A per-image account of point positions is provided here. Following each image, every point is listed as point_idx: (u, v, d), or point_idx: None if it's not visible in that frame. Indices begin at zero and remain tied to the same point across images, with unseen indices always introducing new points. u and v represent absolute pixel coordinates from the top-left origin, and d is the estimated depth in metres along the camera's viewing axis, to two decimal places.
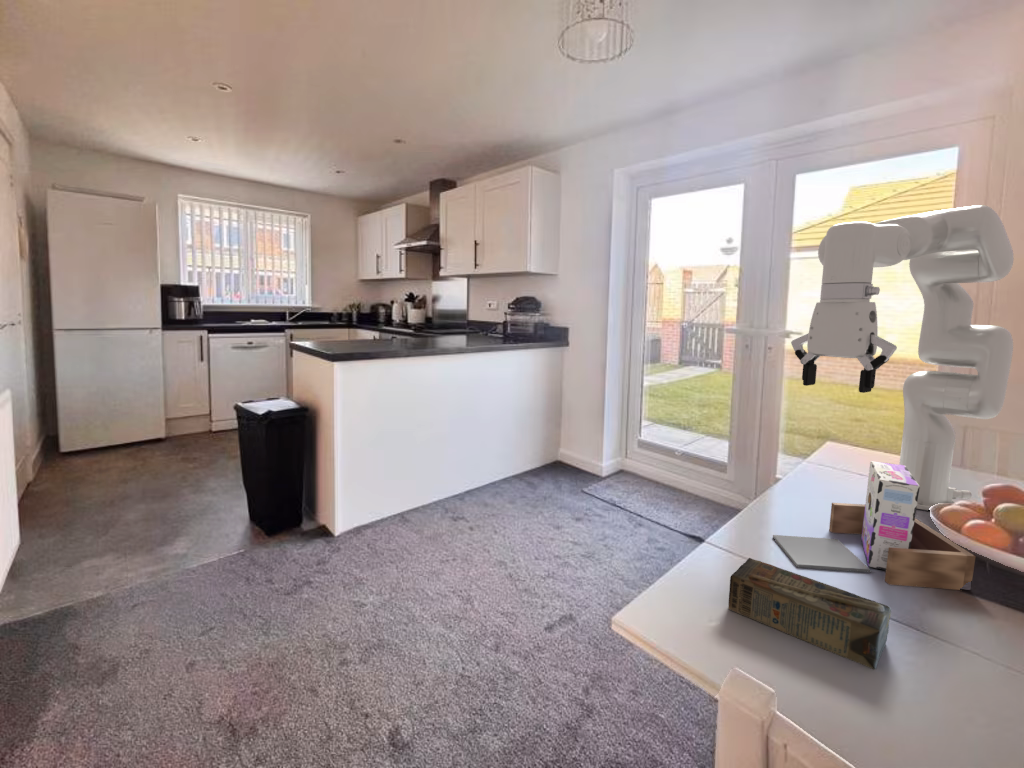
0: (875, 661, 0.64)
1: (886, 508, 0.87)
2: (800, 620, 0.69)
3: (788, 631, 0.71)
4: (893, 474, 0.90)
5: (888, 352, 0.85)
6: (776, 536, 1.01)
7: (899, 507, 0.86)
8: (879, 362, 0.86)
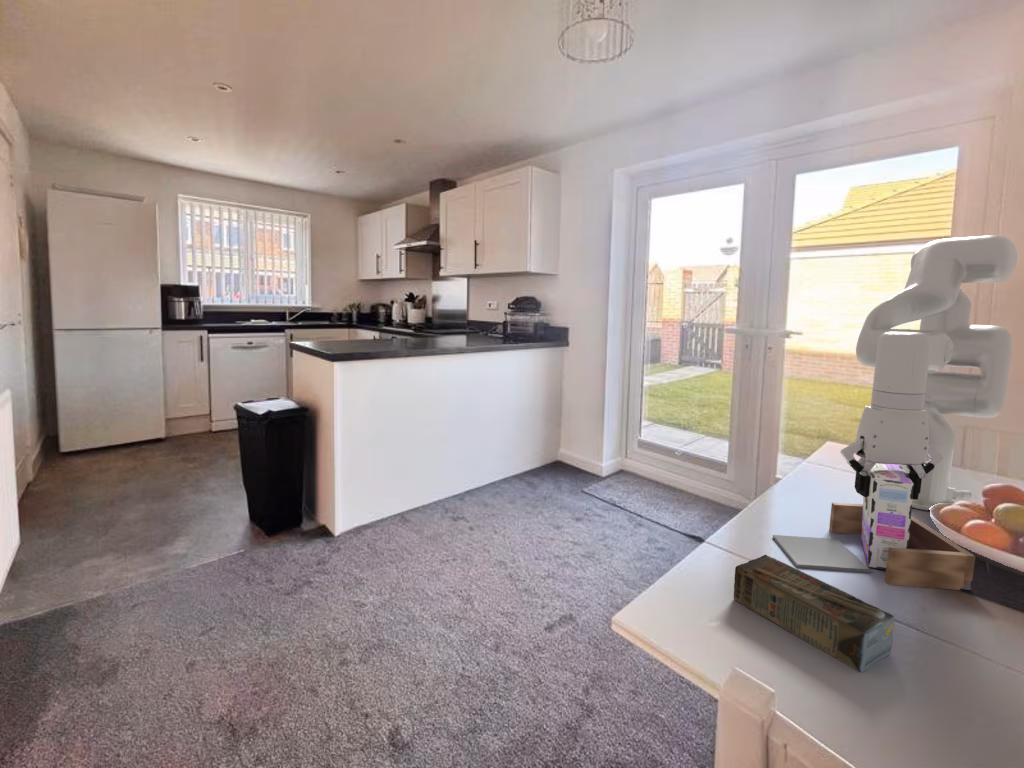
0: (860, 664, 0.64)
1: (882, 507, 0.88)
2: (793, 615, 0.71)
3: (783, 625, 0.72)
4: (887, 473, 0.90)
5: (937, 461, 0.90)
6: (776, 536, 1.01)
7: (895, 505, 0.87)
8: (929, 470, 0.90)
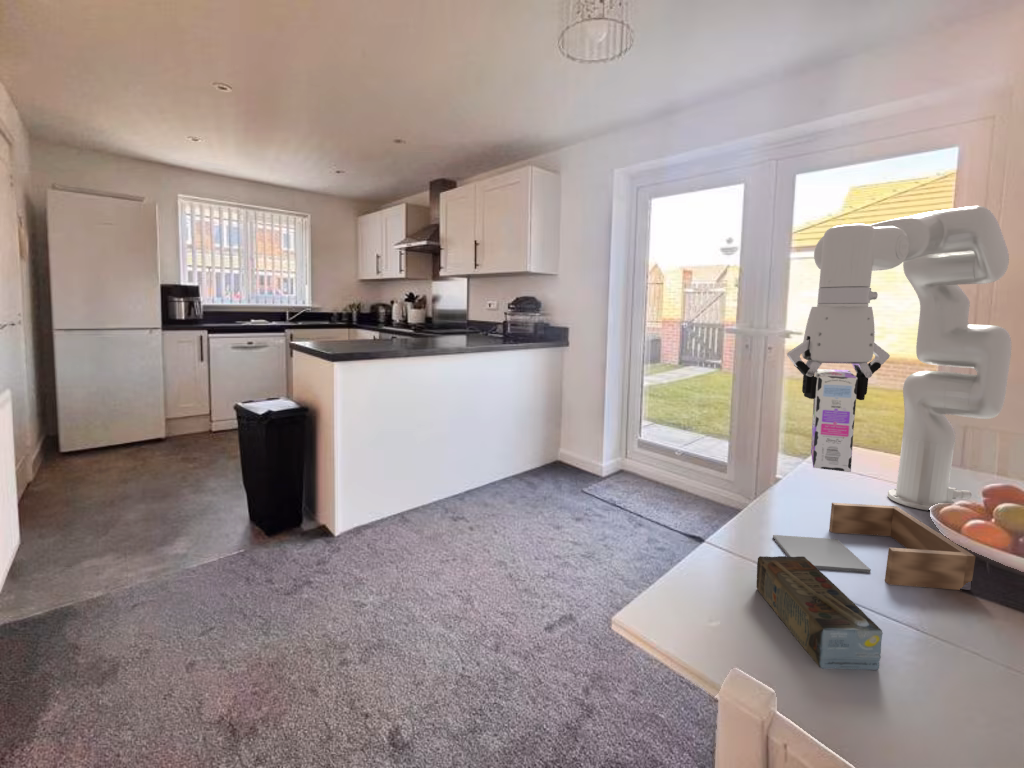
0: (820, 659, 0.64)
1: (827, 404, 0.86)
2: (784, 606, 0.73)
3: (780, 616, 0.74)
4: (834, 373, 0.88)
5: (884, 360, 0.88)
6: (776, 536, 1.01)
7: (839, 402, 0.85)
8: (875, 369, 0.88)
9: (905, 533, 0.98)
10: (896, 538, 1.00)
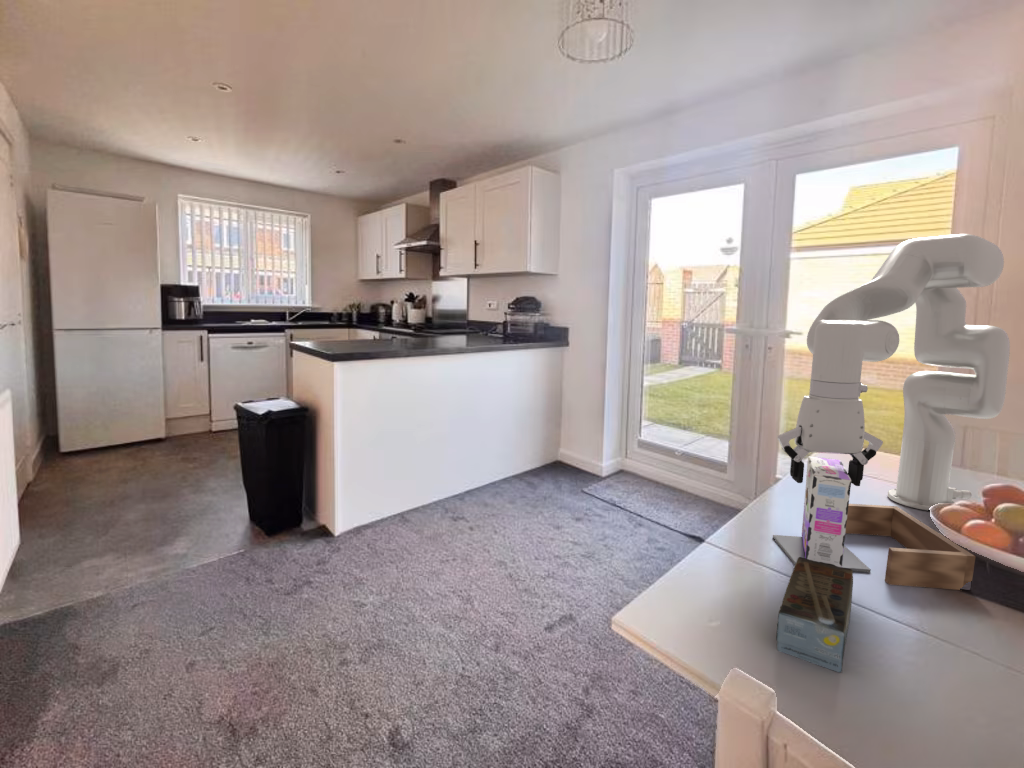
0: (777, 642, 0.68)
1: (821, 502, 0.88)
2: None
3: None
4: (827, 469, 0.91)
5: (878, 446, 0.90)
6: (776, 536, 1.01)
7: (833, 501, 0.87)
8: (871, 456, 0.90)
9: (905, 533, 0.98)
10: (896, 538, 1.00)
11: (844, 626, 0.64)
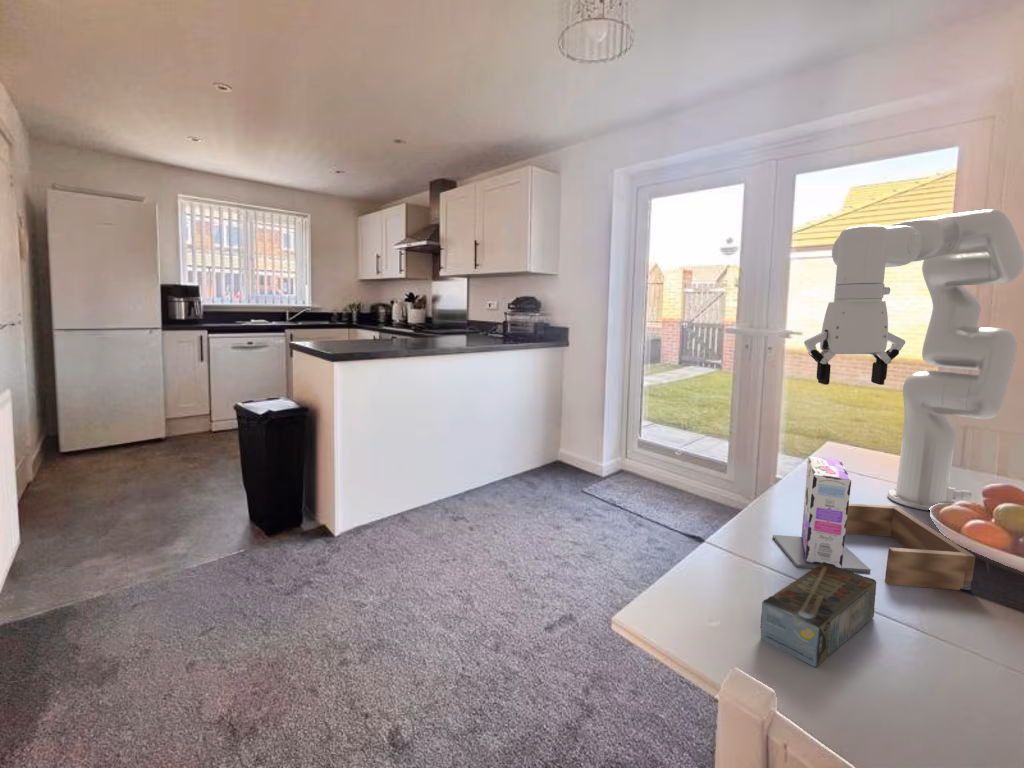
0: (761, 630, 0.70)
1: (821, 502, 0.88)
2: None
3: None
4: (827, 469, 0.91)
5: (901, 346, 0.95)
6: (776, 536, 1.01)
7: (833, 501, 0.87)
8: (894, 355, 0.95)
9: (905, 533, 0.98)
10: (896, 538, 1.00)
11: (824, 623, 0.65)
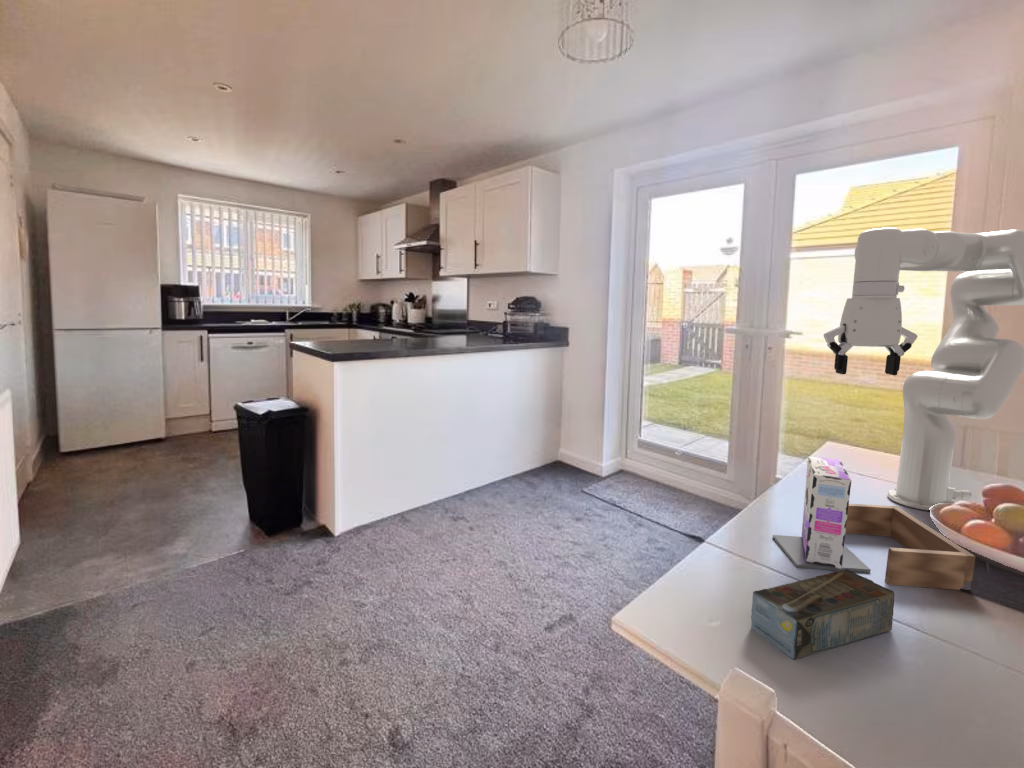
0: (751, 619, 0.73)
1: (821, 502, 0.88)
2: None
3: None
4: (827, 469, 0.91)
5: (913, 340, 1.03)
6: (776, 536, 1.01)
7: (833, 501, 0.87)
8: (907, 348, 1.03)
9: (905, 533, 0.98)
10: (896, 538, 1.00)
11: (805, 618, 0.66)
